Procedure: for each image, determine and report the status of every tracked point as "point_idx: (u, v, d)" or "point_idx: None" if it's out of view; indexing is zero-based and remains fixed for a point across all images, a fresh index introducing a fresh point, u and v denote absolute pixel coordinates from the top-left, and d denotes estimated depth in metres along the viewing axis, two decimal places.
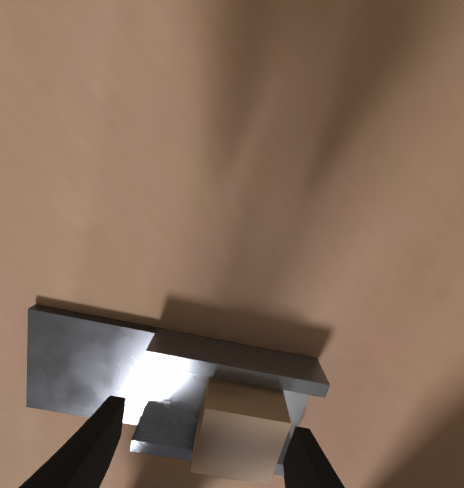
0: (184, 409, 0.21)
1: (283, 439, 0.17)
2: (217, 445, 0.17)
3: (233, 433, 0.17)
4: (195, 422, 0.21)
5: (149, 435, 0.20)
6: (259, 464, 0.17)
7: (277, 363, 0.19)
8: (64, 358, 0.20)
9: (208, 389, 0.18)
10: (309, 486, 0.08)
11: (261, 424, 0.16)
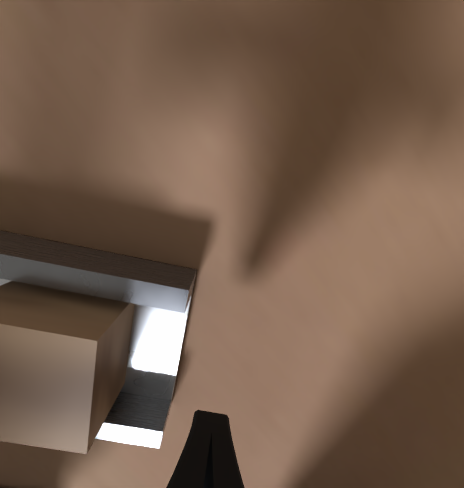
0: None
1: (90, 371, 0.10)
2: None
3: (1, 361, 0.10)
4: None
5: None
6: (61, 417, 0.10)
7: (117, 265, 0.12)
8: None
9: None
10: (208, 471, 0.08)
11: (46, 343, 0.09)
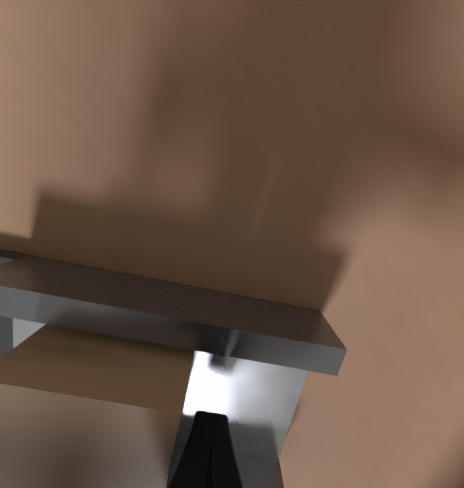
0: None
1: (168, 449, 0.07)
2: (24, 464, 0.08)
3: (53, 438, 0.07)
4: None
5: None
6: None
7: (244, 313, 0.10)
8: None
9: (22, 344, 0.08)
10: (207, 470, 0.08)
11: (113, 417, 0.07)
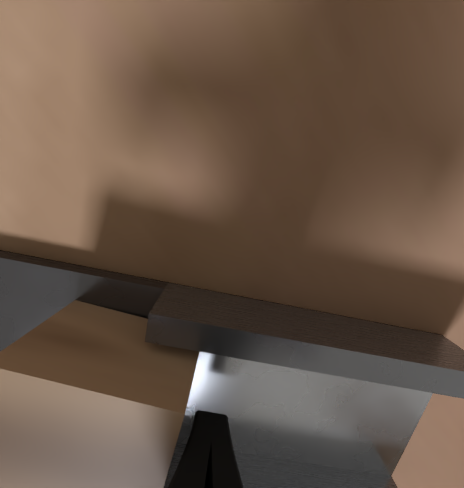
0: None
1: (169, 449, 0.07)
2: (24, 453, 0.08)
3: (55, 428, 0.07)
4: (233, 445, 0.13)
5: None
6: None
7: (389, 340, 0.10)
8: (4, 338, 0.11)
9: (31, 333, 0.08)
10: (207, 470, 0.08)
11: (117, 412, 0.07)
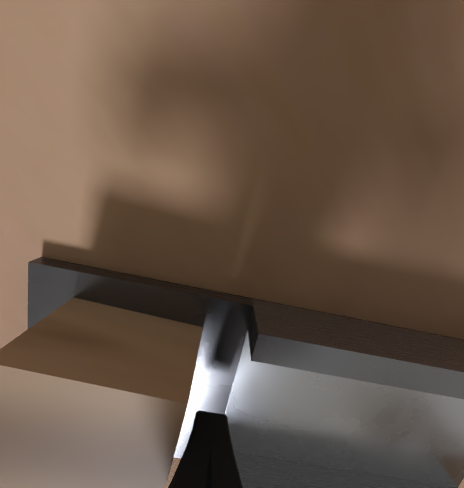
0: (290, 437, 0.13)
1: (173, 440, 0.08)
2: (28, 449, 0.08)
3: (59, 423, 0.07)
4: (305, 457, 0.13)
5: None
6: None
7: None
8: None
9: (30, 330, 0.08)
10: (207, 470, 0.08)
11: (121, 405, 0.07)
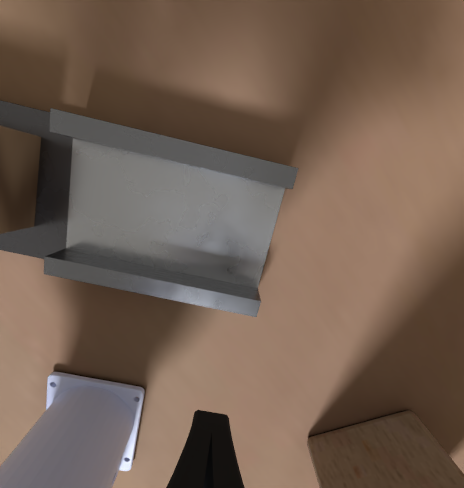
0: (120, 237, 0.17)
1: None
2: None
3: None
4: (135, 257, 0.17)
5: (70, 257, 0.16)
6: None
7: None
8: None
9: None
10: (208, 471, 0.08)
11: None
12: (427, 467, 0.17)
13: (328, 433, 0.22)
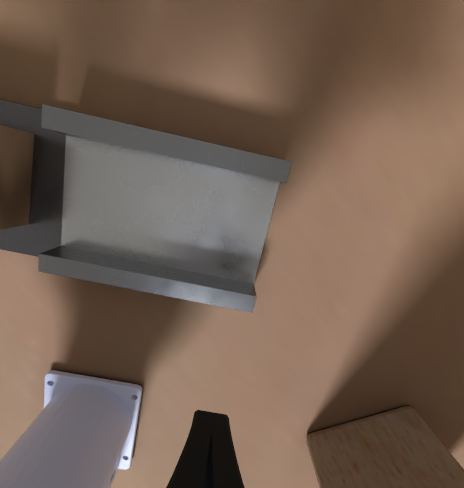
0: (115, 234, 0.17)
1: None
2: None
3: None
4: (130, 254, 0.17)
5: (65, 255, 0.15)
6: None
7: None
8: None
9: None
10: (208, 471, 0.08)
11: None
12: (427, 462, 0.17)
13: (327, 429, 0.22)
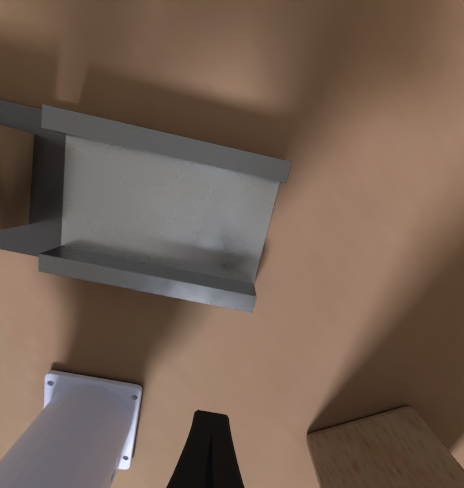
0: (115, 234, 0.17)
1: None
2: None
3: None
4: (130, 254, 0.17)
5: (65, 255, 0.15)
6: None
7: None
8: None
9: None
10: (208, 471, 0.08)
11: None
12: (427, 462, 0.17)
13: (327, 429, 0.22)
